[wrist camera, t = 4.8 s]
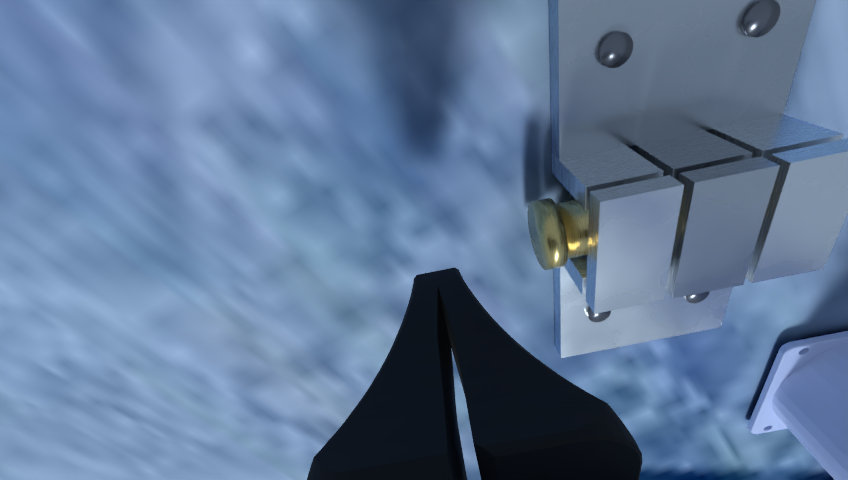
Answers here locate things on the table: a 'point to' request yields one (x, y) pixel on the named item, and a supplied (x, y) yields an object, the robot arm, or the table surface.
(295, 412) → the table surface
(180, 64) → the table surface
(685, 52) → the hinge
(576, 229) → the pin
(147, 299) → the table surface
